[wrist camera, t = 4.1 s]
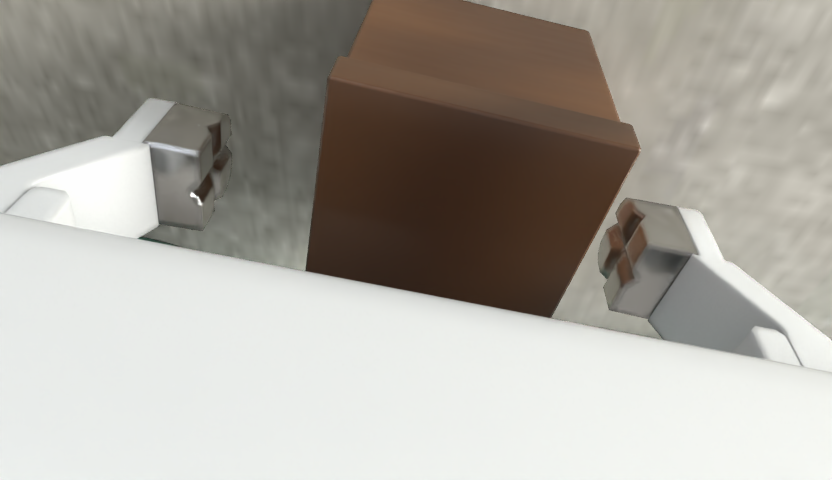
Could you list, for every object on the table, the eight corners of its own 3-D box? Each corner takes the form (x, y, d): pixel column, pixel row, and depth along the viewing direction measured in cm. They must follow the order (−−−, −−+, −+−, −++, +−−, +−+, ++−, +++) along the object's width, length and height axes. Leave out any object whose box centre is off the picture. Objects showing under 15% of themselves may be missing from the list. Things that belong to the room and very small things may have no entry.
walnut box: (596, 27, 13) (642, 150, 9) (524, 201, 16) (536, 347, 12) (376, -28, 12) (327, 75, 8) (348, 161, 15) (301, 298, 12)
